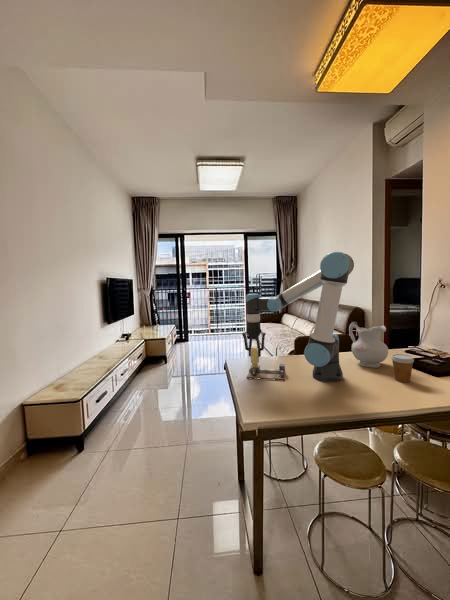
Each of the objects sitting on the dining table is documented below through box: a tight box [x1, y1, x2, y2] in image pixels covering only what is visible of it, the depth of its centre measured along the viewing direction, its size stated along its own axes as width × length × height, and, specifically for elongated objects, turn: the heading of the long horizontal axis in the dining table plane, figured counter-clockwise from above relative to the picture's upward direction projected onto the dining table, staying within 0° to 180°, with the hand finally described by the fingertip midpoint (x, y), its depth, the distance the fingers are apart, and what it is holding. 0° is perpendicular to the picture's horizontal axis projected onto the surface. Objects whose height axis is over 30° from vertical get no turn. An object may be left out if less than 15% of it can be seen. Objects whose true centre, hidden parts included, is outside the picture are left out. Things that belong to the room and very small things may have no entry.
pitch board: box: [246, 363, 286, 381], centre depth 147 cm, size 20×12×6 cm, turn 75°
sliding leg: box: [249, 346, 261, 375], centre depth 149 cm, size 5×9×14 cm, turn 165°
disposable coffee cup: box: [390, 353, 415, 383], centre depth 132 cm, size 10×10×12 cm
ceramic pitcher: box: [348, 321, 389, 369], centre depth 158 cm, size 22×20×25 cm
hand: (255, 362), depth 151 cm, fingers closed on sliding leg, 3 cm apart
